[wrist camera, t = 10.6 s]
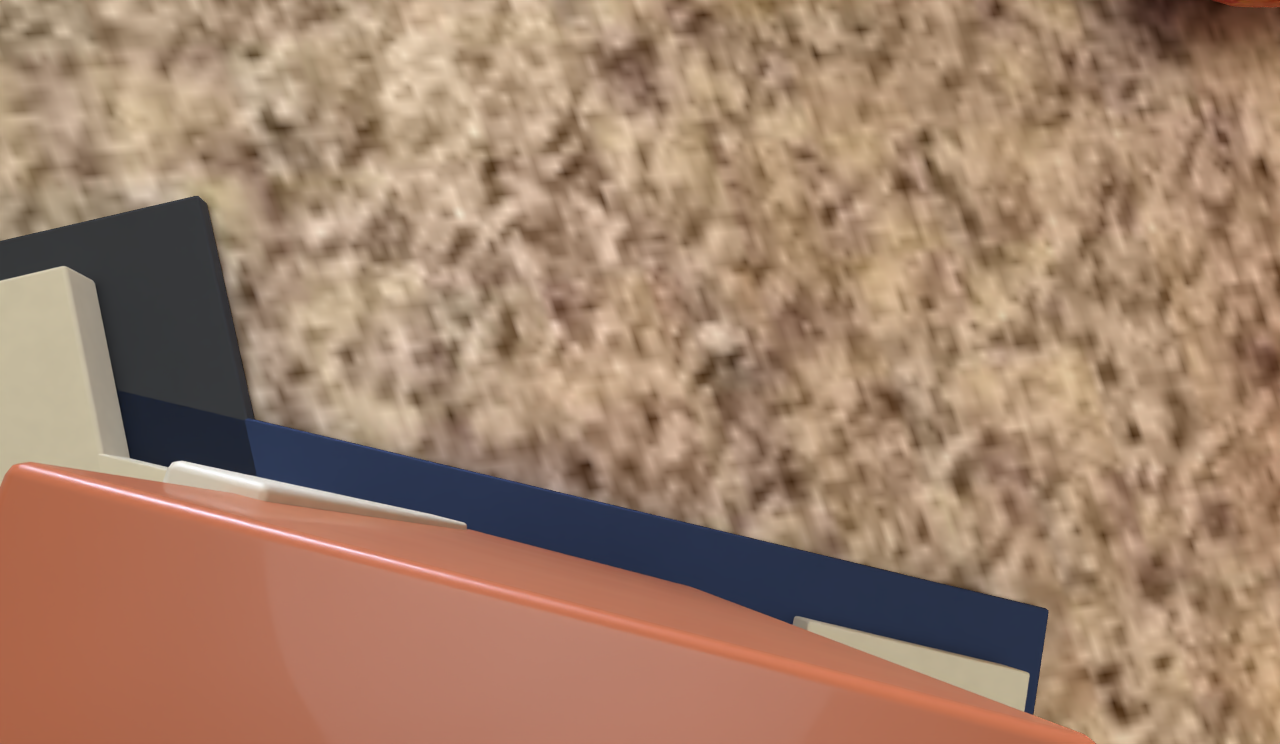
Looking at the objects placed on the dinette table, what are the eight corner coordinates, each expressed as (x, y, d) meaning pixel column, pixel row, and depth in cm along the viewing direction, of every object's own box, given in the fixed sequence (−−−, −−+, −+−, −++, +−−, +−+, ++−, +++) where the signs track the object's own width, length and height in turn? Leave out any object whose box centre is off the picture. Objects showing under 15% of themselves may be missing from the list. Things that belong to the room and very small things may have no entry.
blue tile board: (1038, 607, 20) (1081, 614, 18) (985, 961, 19) (1025, 1004, 17) (101, 383, 19) (57, 369, 18) (-20, 735, 18) (-80, 755, 16)
